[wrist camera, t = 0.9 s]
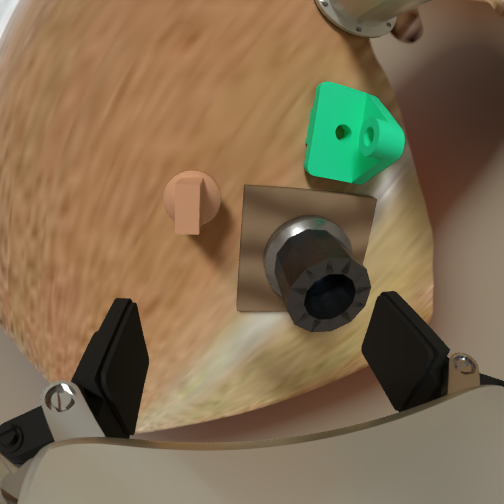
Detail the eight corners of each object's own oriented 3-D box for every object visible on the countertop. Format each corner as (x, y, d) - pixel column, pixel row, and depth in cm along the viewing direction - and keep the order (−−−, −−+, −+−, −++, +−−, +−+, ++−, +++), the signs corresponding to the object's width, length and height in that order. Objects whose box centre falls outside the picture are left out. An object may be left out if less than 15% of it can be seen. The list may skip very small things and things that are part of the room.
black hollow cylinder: (267, 211, 35) (283, 243, 26) (354, 218, 36) (391, 248, 27) (259, 294, 40) (269, 341, 30) (337, 293, 41) (363, 336, 32)
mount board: (244, 184, 34) (245, 186, 33) (371, 196, 36) (377, 199, 35) (236, 304, 42) (236, 310, 40) (346, 303, 44) (349, 308, 42)
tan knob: (171, 165, 32) (154, 177, 24) (222, 166, 33) (221, 177, 25) (171, 214, 35) (156, 239, 27) (220, 215, 36) (219, 241, 28)
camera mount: (314, 82, 30) (347, 67, 20) (367, 98, 31) (412, 93, 21) (300, 171, 34) (328, 187, 25) (352, 181, 35) (392, 200, 26)
